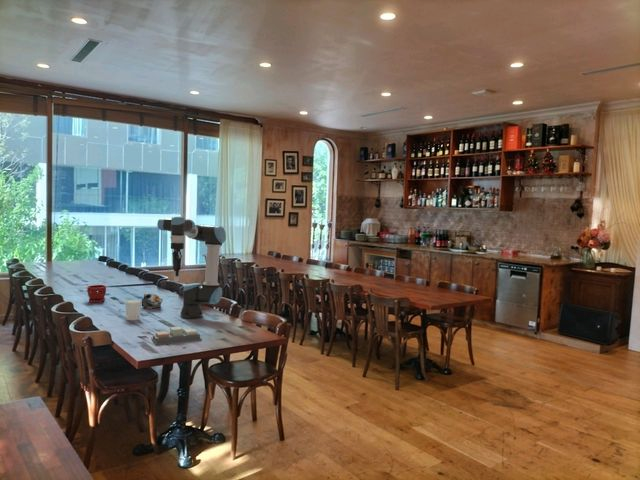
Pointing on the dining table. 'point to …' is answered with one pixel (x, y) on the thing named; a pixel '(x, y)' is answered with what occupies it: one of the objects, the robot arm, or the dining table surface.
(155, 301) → the mottled brown lump
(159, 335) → the terracotta tile
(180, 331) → the sage tile
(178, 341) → the button board
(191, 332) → the ivory tile
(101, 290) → the plant pot
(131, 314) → the candle holder
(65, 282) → the dining table surface
